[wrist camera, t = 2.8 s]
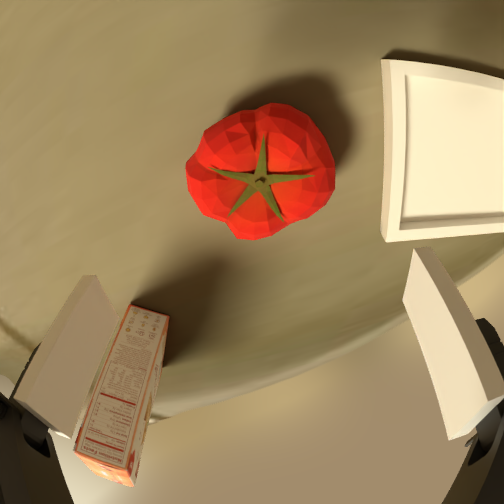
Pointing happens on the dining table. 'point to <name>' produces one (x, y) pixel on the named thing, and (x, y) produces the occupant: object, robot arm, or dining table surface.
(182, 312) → the dining table surface
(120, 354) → the cracker box
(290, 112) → the tomato
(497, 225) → the tray
